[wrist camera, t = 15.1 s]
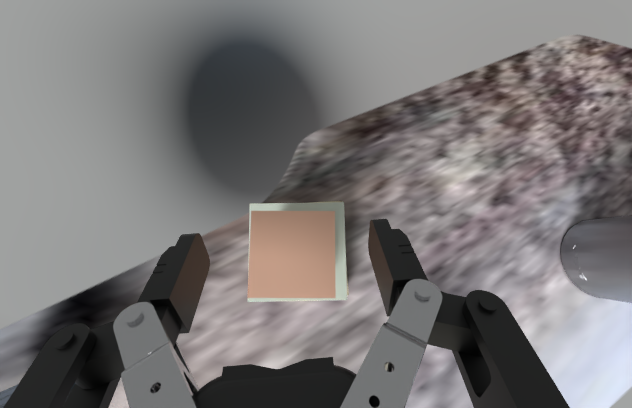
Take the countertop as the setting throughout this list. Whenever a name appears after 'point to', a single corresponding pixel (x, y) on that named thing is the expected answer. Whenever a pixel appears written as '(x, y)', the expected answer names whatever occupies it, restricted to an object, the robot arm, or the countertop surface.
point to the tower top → (339, 243)
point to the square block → (292, 254)
